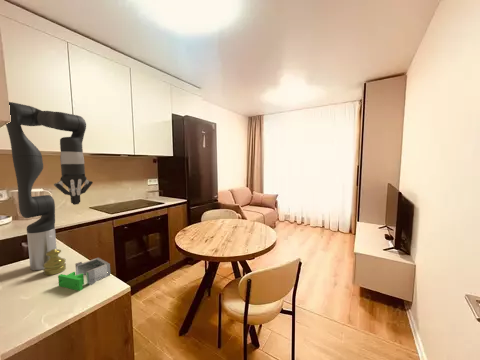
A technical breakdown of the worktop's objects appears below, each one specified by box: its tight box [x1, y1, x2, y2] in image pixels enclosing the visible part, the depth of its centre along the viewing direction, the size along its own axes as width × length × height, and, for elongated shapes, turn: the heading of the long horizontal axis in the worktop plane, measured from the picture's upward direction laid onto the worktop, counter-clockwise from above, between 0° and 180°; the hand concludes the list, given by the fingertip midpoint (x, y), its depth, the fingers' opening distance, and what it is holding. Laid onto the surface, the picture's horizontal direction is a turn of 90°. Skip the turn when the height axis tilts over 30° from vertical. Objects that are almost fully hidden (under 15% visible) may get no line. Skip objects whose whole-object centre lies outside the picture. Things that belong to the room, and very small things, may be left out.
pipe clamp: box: [57, 271, 85, 292], centre depth 78 cm, size 11×4×5 cm, turn 74°
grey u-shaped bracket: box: [74, 257, 112, 286], centre depth 85 cm, size 13×8×5 cm, turn 58°
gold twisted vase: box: [42, 248, 67, 276], centre depth 89 cm, size 7×7×10 cm
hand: (75, 204), depth 84 cm, fingers closed
